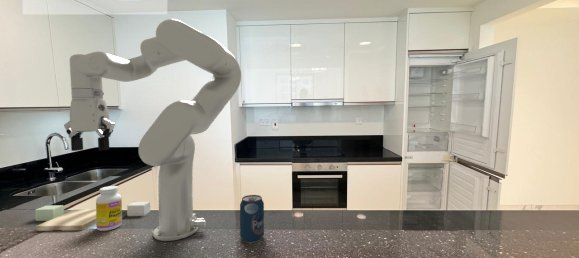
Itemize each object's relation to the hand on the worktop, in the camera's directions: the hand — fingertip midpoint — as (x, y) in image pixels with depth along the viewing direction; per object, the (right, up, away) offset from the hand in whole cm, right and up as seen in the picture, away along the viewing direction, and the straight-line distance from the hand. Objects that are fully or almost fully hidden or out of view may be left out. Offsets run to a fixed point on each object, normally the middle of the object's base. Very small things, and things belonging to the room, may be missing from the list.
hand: (90, 150), depth 75 cm
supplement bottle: (+5, -25, +2) cm, 26 cm away
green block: (-22, -25, +9) cm, 34 cm away
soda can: (+52, -26, -5) cm, 58 cm away
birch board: (-10, -25, +6) cm, 27 cm away
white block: (+7, -25, +13) cm, 29 cm away
